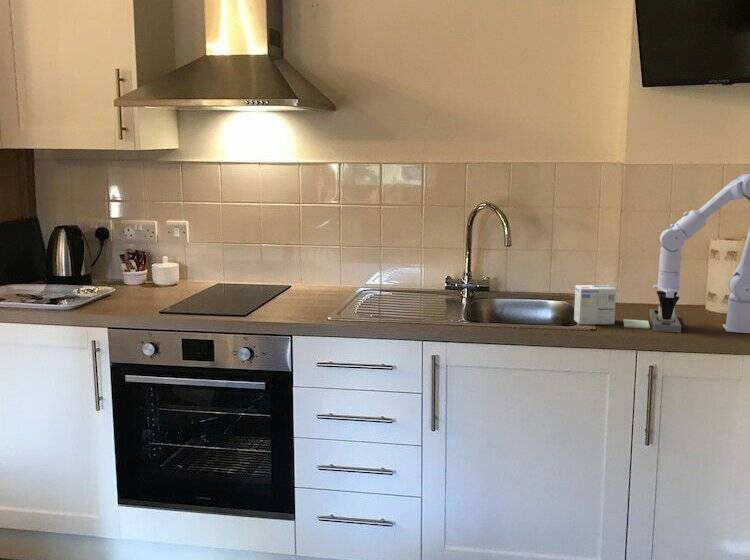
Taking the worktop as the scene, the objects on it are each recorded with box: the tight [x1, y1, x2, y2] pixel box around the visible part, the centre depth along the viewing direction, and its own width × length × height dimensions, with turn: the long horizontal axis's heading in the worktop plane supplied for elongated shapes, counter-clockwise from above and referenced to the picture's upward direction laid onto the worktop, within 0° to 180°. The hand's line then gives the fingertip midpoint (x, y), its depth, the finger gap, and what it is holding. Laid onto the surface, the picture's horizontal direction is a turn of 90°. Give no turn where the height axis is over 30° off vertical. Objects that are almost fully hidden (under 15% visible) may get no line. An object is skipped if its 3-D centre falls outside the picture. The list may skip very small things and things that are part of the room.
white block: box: [658, 304, 676, 322], centre depth 231 cm, size 4×4×6 cm
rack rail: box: [648, 308, 682, 334], centre depth 234 cm, size 7×21×2 cm, turn 165°
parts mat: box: [622, 318, 651, 329], centre depth 233 cm, size 7×8×1 cm
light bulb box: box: [573, 284, 617, 325], centre depth 235 cm, size 11×7×11 cm, turn 92°
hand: (665, 317), depth 231 cm, fingers closed on white block, 4 cm apart
